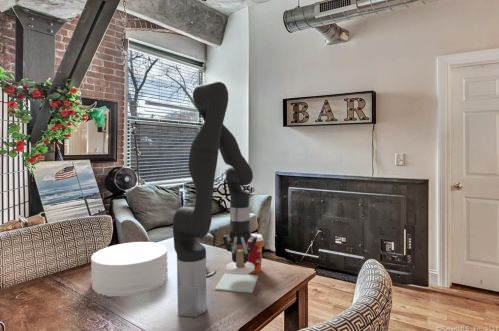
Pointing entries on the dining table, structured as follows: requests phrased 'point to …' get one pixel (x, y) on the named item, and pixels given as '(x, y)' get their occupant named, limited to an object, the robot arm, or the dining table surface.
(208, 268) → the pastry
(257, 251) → the coffee cup
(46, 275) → the dining table surface
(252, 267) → the cup lid
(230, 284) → the rubber mat
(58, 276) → the dining table surface
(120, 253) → the plate stack
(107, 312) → the dining table surface
